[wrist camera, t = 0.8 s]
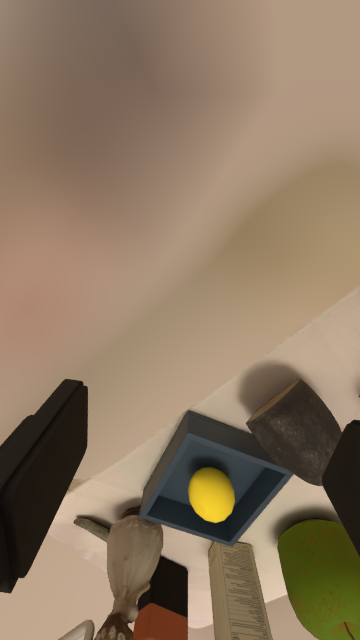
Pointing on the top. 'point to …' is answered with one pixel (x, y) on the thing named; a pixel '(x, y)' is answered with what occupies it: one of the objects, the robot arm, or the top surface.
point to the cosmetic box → (236, 594)
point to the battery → (164, 605)
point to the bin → (220, 453)
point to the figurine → (129, 570)
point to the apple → (322, 578)
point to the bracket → (81, 631)
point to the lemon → (211, 494)
